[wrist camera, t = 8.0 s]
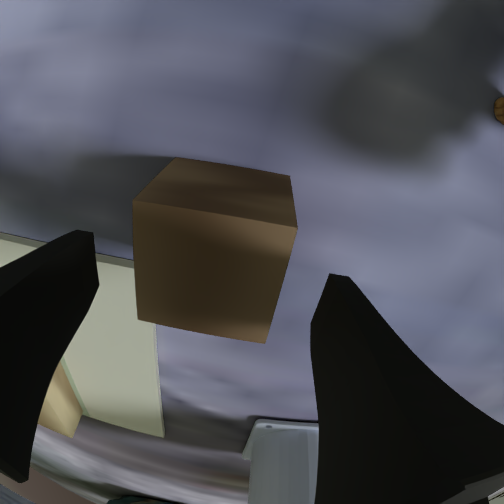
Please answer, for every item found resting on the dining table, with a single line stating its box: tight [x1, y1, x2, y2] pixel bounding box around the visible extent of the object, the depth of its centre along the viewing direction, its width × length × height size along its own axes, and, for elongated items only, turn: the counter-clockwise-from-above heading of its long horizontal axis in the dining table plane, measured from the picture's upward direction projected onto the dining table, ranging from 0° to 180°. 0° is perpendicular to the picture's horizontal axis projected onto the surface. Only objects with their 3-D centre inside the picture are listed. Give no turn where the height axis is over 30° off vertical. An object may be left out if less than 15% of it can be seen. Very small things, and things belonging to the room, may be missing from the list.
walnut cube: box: [133, 157, 298, 344], centre depth 11 cm, size 4×4×4 cm
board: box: [0, 233, 165, 438], centre depth 19 cm, size 14×18×1 cm
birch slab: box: [37, 361, 83, 438], centre depth 19 cm, size 5×9×3 cm, turn 171°
